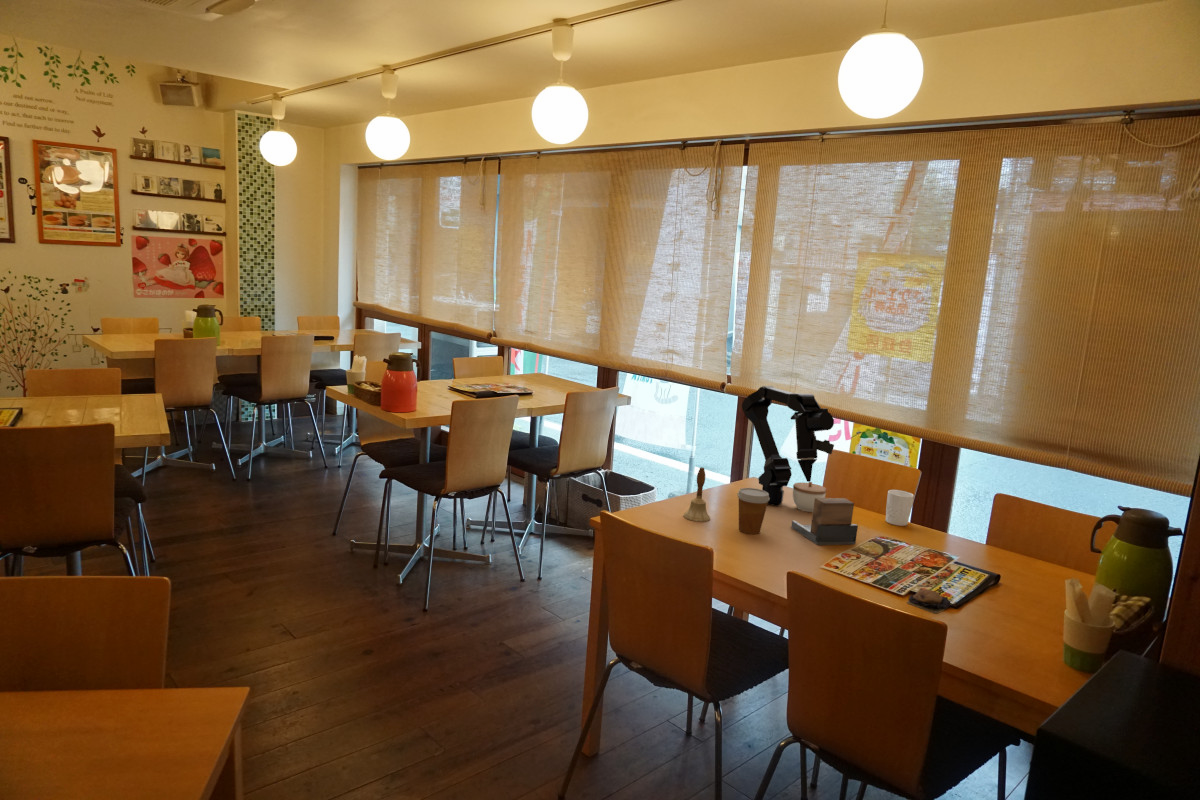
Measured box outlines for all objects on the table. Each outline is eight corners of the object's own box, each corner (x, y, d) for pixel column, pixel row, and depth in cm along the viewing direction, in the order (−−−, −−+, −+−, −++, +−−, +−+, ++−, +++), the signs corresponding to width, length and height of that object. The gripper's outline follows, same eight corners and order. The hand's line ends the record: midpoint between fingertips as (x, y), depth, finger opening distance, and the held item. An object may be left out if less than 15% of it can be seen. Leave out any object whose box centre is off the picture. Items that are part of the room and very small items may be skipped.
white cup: (912, 527, 246) (917, 497, 244) (888, 525, 246) (893, 495, 244) (903, 519, 253) (908, 490, 252) (880, 517, 254) (884, 488, 252)
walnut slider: (810, 533, 227) (814, 497, 225) (839, 533, 229) (844, 498, 228) (819, 539, 222) (824, 503, 220) (848, 539, 225) (854, 503, 223)
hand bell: (712, 522, 233) (718, 472, 230) (685, 521, 232) (691, 470, 230) (707, 514, 241) (712, 465, 238) (681, 512, 240) (686, 463, 238)
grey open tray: (791, 527, 235) (793, 509, 234) (827, 527, 238) (829, 509, 237) (817, 544, 220) (820, 525, 219) (855, 544, 224) (857, 525, 223)
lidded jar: (799, 513, 250) (803, 486, 248) (785, 503, 260) (788, 477, 259) (829, 514, 252) (833, 487, 251) (813, 504, 262) (817, 478, 261)
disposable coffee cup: (730, 532, 225) (735, 493, 223) (736, 523, 234) (740, 485, 232) (762, 538, 222) (767, 498, 220) (767, 529, 231) (772, 491, 229)
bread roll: (937, 617, 178) (939, 602, 178) (902, 604, 184) (904, 590, 184) (955, 606, 186) (957, 592, 185) (921, 594, 192) (923, 580, 191)
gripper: (832, 429, 234) (836, 480, 232) (830, 432, 252) (834, 480, 250) (794, 431, 236) (798, 482, 235) (795, 434, 254) (799, 481, 253)
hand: (808, 481), depth 243 cm, fingers closed
